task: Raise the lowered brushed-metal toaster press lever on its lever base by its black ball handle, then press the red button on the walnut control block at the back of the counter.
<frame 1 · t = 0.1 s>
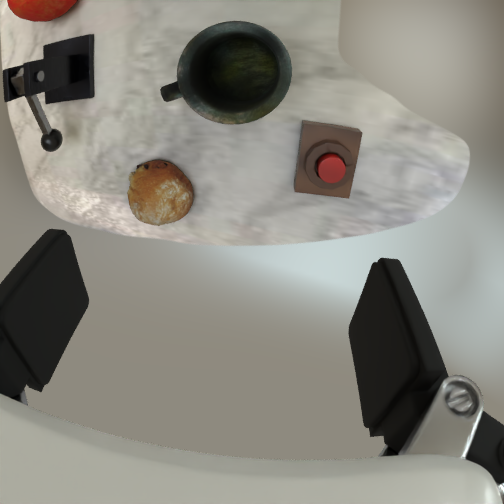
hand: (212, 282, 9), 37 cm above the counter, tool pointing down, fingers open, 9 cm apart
lever base: (69, 69, 36), on the counter
mug: (231, 71, 37), on the counter
button: (330, 168, 40), point 4 cm above the counter, slide at 0.1 cm
bread roll: (161, 187, 48), on the counter
control block: (325, 157, 43), on the counter
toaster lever: (38, 112, 32), point 9 cm above the counter, hinge at -26.0°
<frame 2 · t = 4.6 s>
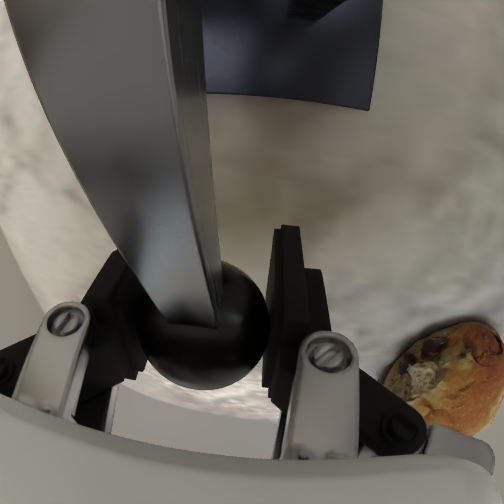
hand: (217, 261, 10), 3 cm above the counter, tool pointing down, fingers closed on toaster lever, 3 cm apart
bread roll: (439, 361, 19), on the counter
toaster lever: (155, 184, 3), point 9 cm above the counter, hinge at -26.0°, touching gripper
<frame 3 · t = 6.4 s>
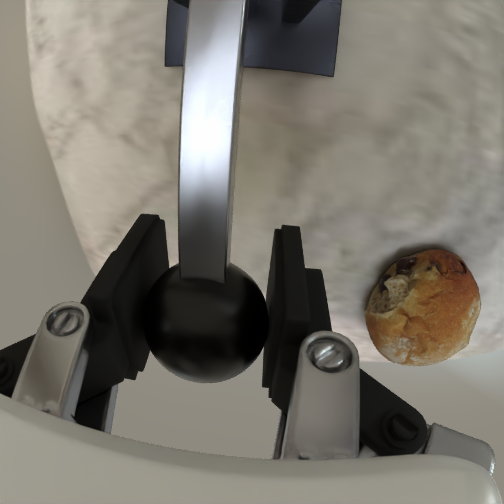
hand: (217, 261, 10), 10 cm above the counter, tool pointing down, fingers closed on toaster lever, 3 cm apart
bread roll: (416, 291, 24), on the counter
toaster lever: (211, 108, 6), point 12 cm above the counter, hinge at 9.0°, touching gripper
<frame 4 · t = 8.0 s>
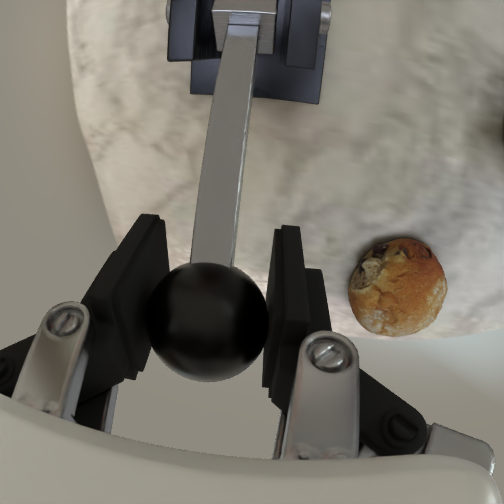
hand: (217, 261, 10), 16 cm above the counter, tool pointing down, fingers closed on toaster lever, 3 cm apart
lever base: (260, 30, 18), on the counter
bread roll: (392, 274, 30), on the counter
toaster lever: (228, 136, 9), point 15 cm above the counter, hinge at 38.7°, touching gripper
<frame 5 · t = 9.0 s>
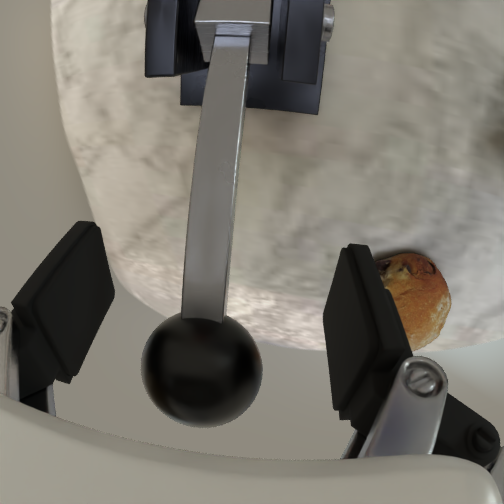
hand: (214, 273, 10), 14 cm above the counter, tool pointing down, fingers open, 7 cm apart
lever base: (254, 35, 17), on the counter
bread roll: (394, 289, 29), on the counter
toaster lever: (216, 174, 8), point 14 cm above the counter, hinge at 33.4°
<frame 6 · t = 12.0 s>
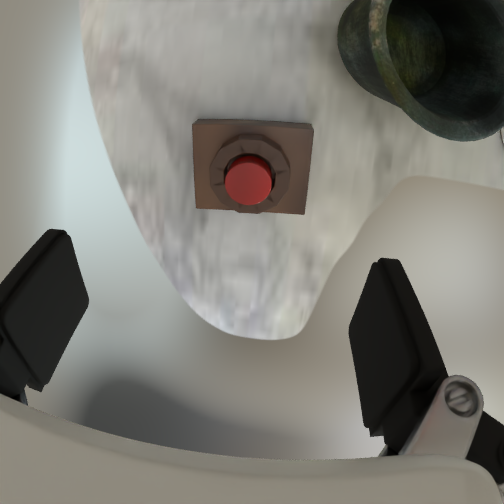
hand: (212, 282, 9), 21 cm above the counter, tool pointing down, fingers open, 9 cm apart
mug: (386, 28, 20), on the counter
button: (248, 180, 25), point 4 cm above the counter, slide at 0.1 cm
control block: (252, 162, 29), on the counter
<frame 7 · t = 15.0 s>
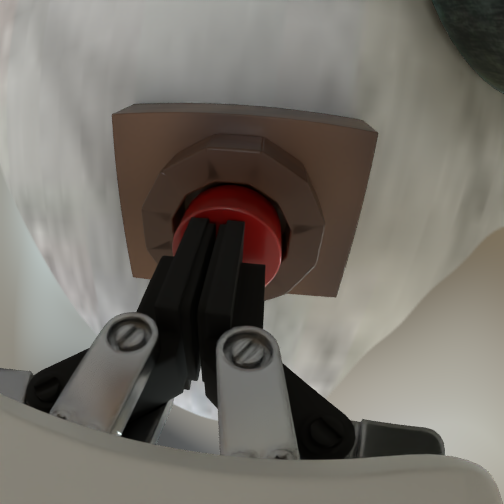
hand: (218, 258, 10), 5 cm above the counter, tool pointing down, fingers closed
button: (228, 242, 11), point 4 cm above the counter, slide at -0.1 cm, touching gripper
control block: (240, 190, 15), on the counter
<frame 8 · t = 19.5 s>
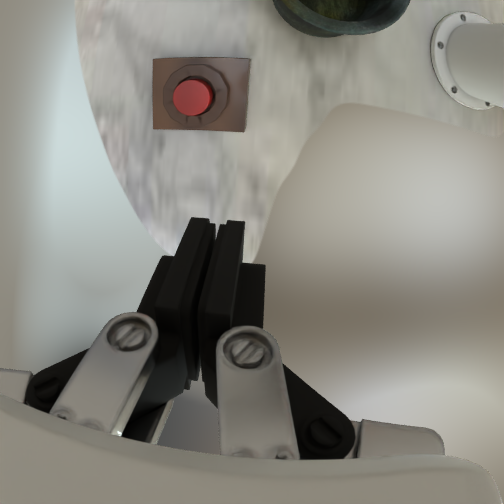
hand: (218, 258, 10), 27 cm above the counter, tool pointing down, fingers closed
button: (193, 96, 28), point 5 cm above the counter, slide at 0.1 cm
control block: (202, 91, 31), on the counter
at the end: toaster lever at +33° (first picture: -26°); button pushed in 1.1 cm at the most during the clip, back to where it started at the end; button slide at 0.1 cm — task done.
